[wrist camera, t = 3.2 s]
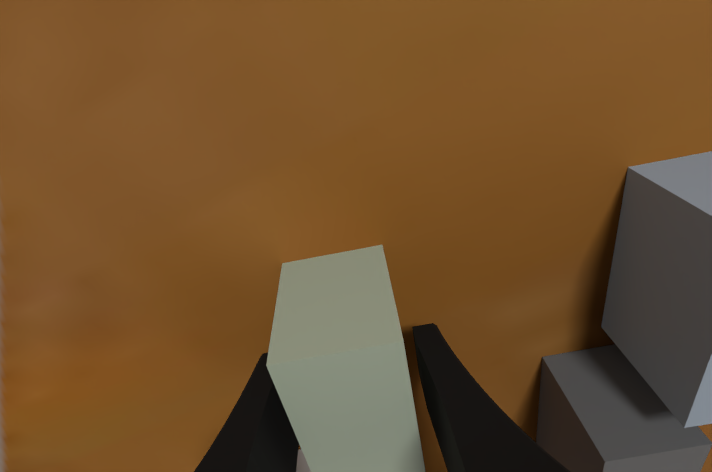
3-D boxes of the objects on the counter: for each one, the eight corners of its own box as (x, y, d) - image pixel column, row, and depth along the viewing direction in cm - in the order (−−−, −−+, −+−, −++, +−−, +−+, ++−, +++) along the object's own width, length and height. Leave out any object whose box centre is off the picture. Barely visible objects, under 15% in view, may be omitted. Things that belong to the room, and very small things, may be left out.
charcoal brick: (602, 438, 18) (668, 543, 15) (534, 450, 18) (583, 557, 15) (623, 340, 15) (712, 443, 12) (540, 354, 15) (605, 461, 12)
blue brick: (685, 309, 14) (798, 408, 11) (599, 324, 15) (684, 428, 11) (735, 144, 11) (912, 211, 8) (625, 165, 12) (753, 240, 8)
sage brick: (405, 378, 15) (428, 490, 12) (325, 392, 15) (325, 507, 12) (381, 243, 12) (403, 341, 9) (282, 261, 12) (266, 365, 9)
